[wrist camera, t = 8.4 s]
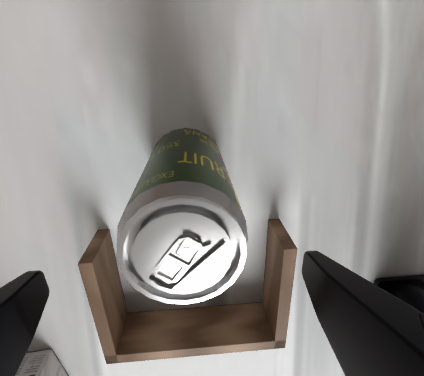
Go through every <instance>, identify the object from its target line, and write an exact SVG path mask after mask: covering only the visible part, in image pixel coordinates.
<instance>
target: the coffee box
mask: <svg viewBox="0 0 424 376" xmlns="http://www.w3.org/2000/svg"><path fill="white" fill-rule="evenodd" d="M15 376H68V375H67V373H66V372H65V370H64V369H63V367H62V366H61V364H60V362H59V361H58V359H57V358H56V356H55V354H54V353H53V351H52V350H43V351H38V352H31V353H26V355H25V357H24V359H23V361H22V363H21V365H20V367H19V369H18V371H17V373H16V375H15Z"/></svg>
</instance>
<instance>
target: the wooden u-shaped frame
mask: <svg viewBox="0 0 424 376" xmlns="http://www.w3.org/2000/svg"><path fill="white" fill-rule="evenodd" d="M296 255H297V247H296V246H295V244H294V243H293V241H292V239H291V238H290V236H289V234H288V233H287V231H286V229H285V228H284V226H283V224H282V223H281V221H280V220H279V219H272V220H268V231H267V246H266V261H265V275H264V290H263V302H260V303H248V304H235V305H223V306H211V307H198V308H186V309H173V310H161V311H148V312H136V313H127V309H126V305H125V300H124V295H123V291H122V286H121V281H120V277H119V272H118V267H117V263H116V258H115V253H114V249H113V244H112V239H111V235H110V230H98V231H97V232H96V234H95V236H94V237H93V239H92V241H91V242H90V244H89V246H88V248H87V249H86V251H85V253H84V254H83V256H82V258H81V259H80V261H79V263H78V266H79V270H80V273H81V277H82V280H83V284H84V287H85V291H86V294H87V298H88V301H89V304H90V308H91V311H92V315H93V318H94V322H95V325H96V329H97V332H98V336H99V339H100V343H101V346H102V350H103V353H104V357H105V360H106V363H107V364H112V363H123V362H134V361H145V360H155V359H166V358H177V357H188V356H199V355H210V354H221V353H232V352H243V351H254V350H265V349H276V348H285V343H286V335H287V327H288V319H289V311H290V303H291V295H292V287H293V279H294V271H295V263H296Z"/></svg>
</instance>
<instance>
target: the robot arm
mask: <svg viewBox="0 0 424 376" xmlns="http://www.w3.org/2000/svg"><path fill="white" fill-rule="evenodd" d="M302 275H303V279H304V281H305V284H306V287H307V290H308V293H309V296H310V298H311V301H312V304H313V307H314V310H315V312H316V315H317V317H318V320H319V322H320V324H321V326H322V328H323V330H324V332H325V334H326V336H327V339H328V341H329V343H330V345H331V347H332V349H333V351H334V353H335V355H336V357H337V359H338V361H339V363H340V366H341V368H342V370H343V372H344V374H345V376H424V275H418V276H405V277H392V278H380V279H378V280H376V282H375V285H374V284H373V283H371V282H369V281H368V280H366V279H364V278H362V277H361V276H359V275H357V274H356V273H354V272H352V271H351V270H349V269H347V268H345V267H344V266H342V265H340V264H339V263H337V262H335V261H334V260H332V259H330V258H328V257H327V256H325V255H323V254H322V253H320V252H318V251H306V252H305V254H304V258H303V265H302ZM48 296H49V287H48V285H47V282H46V279H45V276H44V274H43V272H42V271H28V272H26V273H24V274H22V275H21V276H19V277H17V278H16V279H14V280H13V281H11V282H9V283H8V284H6V285H4V286H3V287H1V288H0V376H15V375H16V373H17V371H18V369H19V367H20V365H21V363H22V361H23V359H24V357H25V355H26V353H27V351H28V348H29V346H30V344H31V342H32V339H33V337H34V334H35V332H36V329H37V326H38V324H39V321H40V318H41V316H42V313H43V310H44V307H45V305H46V302H47V299H48Z"/></svg>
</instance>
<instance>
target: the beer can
mask: <svg viewBox="0 0 424 376" xmlns="http://www.w3.org/2000/svg"><path fill="white" fill-rule="evenodd" d="M247 240H248V235H247V226H246V220H245V218H244V215H243V212H242V210H241V207H240V204H239V202H238V199H237V196H236V194H235V191H234V188H233V186H232V183H231V180H230V178H229V175H228V172H227V170H226V167H225V164H224V162H223V159H222V156H221V154H220V151H219V149H218V147H217V145H216V143H215V142H214V141H213V140H212V139H211V138H210V137H209V136H208V135H206V134H204V133H202V132H200V131H198V130H194V129H187V128H184V129H178V130H174V131H172V132H170V133H168V134H166V135H164V136H163V137H162V138H161V139H160V140H159V141H158V143H157V144H156V146H155V148H154V150H153V152H152V154H151V156H150V158H149V160H148V162H147V164H146V167H145V169H144V171H143V173H142V175H141V177H140V179H139V181H138V183H137V185H136V187H135V189H134V192H133V194H132V196H131V198H130V200H129V202H128V204H127V206H126V208H125V210H124V213H123V215H122V217H121V219H120V222H119V224H118V232H117V262H118V264H119V267H120V270H121V272H122V275H123V276H124V277H125V279H126V280H127V281H128V282H129V283H130V285H131V286H132V287H133V288H134V289H136V290H137V291H139V292H140V293H142V294H143V295H145V296H147V297H148V298H151V299H154V300H157V301H160V302H163V303H167V304H182V305H186V304H192V303H198V302H203V301H206V300H208V299H210V298H213V297H215V296H217V295H220V294H221V293H222V292H224V291H225V290H226V289H227V288H229V287H230V286H231V285H232V284H234V282H235V281H236V279H237V278H238V276H239V275H240V273H241V272H242V270H243V268H244V264H245V260H246V257H247V248H246V244H247Z"/></svg>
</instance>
